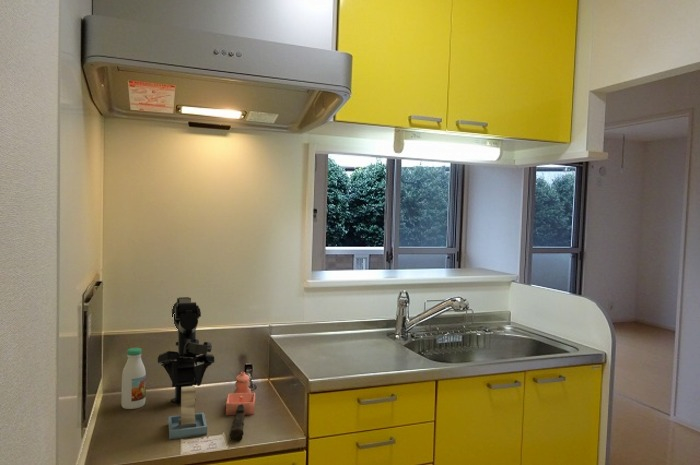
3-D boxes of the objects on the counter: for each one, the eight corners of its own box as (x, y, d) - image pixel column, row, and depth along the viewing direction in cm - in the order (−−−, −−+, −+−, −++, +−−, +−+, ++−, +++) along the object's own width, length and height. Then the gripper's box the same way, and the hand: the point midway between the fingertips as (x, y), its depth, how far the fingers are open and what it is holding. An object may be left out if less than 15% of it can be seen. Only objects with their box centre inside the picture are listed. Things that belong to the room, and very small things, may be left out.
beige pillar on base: (178, 424, 154) (179, 386, 154) (195, 422, 156) (196, 385, 155) (179, 431, 149) (180, 392, 149) (196, 429, 151) (197, 390, 151)
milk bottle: (121, 411, 164) (122, 353, 163) (120, 402, 171) (121, 347, 170) (146, 407, 167) (147, 351, 166) (144, 399, 174) (145, 345, 173)
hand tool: (242, 442, 146) (243, 427, 146) (229, 442, 146) (229, 427, 146) (249, 415, 165) (249, 402, 165) (237, 415, 165) (238, 402, 165)
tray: (168, 424, 156) (168, 416, 156) (203, 419, 160) (203, 412, 160) (169, 439, 146) (169, 431, 145) (206, 434, 150) (207, 426, 150)
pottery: (254, 414, 166) (254, 386, 165) (225, 415, 164) (226, 387, 164) (255, 394, 184) (256, 369, 183) (230, 395, 182) (230, 369, 181)
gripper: (178, 329, 152) (178, 379, 146) (224, 334, 167) (226, 381, 160) (157, 337, 158) (156, 386, 151) (203, 342, 172) (204, 387, 166)
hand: (187, 385), depth 157 cm, fingers open, 9 cm apart
